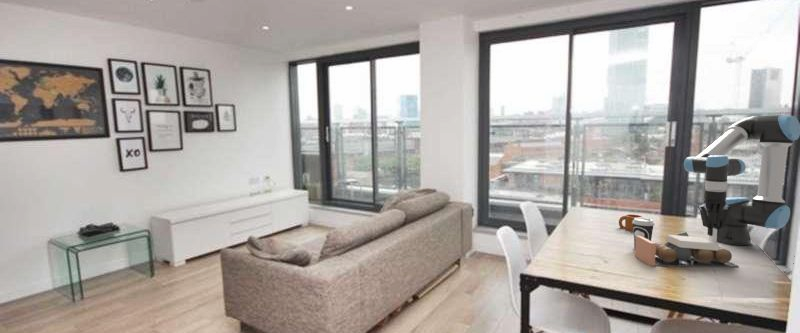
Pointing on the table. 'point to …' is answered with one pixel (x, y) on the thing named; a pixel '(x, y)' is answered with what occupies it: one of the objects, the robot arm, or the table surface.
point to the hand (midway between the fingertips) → (712, 242)
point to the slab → (692, 242)
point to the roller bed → (692, 263)
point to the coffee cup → (643, 228)
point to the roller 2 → (680, 251)
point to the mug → (628, 221)
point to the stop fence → (645, 250)
